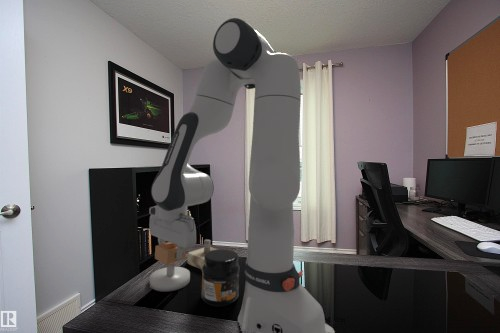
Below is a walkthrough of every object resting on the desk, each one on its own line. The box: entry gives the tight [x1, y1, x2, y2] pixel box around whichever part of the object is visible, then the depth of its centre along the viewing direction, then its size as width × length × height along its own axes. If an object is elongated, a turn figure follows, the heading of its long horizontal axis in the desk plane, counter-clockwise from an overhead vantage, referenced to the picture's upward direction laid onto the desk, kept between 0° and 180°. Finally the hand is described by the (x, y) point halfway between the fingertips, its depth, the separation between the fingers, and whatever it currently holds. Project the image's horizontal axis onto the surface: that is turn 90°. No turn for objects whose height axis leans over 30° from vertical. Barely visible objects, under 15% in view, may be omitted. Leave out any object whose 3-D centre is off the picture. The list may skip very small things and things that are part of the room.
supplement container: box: [201, 248, 241, 308], centre depth 66 cm, size 10×10×12 cm
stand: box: [187, 239, 217, 271], centre depth 89 cm, size 10×10×8 cm
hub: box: [149, 262, 191, 292], centre depth 74 cm, size 12×12×6 cm
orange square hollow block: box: [154, 241, 187, 266], centre depth 74 cm, size 7×7×4 cm
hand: (170, 255), depth 74 cm, fingers closed on orange square hollow block, 7 cm apart
